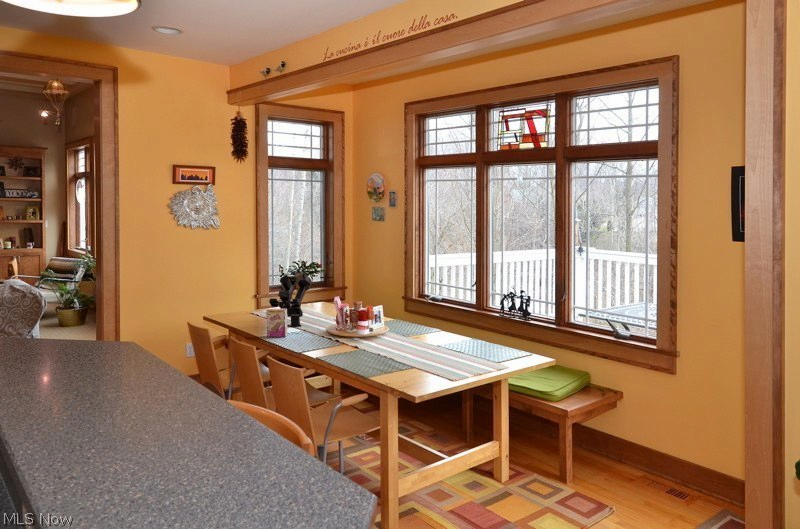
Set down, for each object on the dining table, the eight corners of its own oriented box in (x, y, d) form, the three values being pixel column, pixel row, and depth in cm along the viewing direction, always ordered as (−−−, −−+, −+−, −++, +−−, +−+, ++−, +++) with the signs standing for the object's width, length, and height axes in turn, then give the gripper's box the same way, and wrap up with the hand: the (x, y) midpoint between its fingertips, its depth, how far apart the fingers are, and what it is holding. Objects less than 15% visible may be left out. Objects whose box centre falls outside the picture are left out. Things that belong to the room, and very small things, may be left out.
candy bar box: (267, 337, 377) (265, 309, 375) (269, 335, 382) (268, 308, 380) (285, 337, 376) (284, 309, 374) (288, 335, 381) (286, 308, 379)
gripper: (269, 285, 390) (263, 306, 381) (298, 285, 387) (292, 306, 377) (275, 296, 399) (268, 316, 389) (303, 296, 395) (298, 317, 386)
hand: (281, 314), depth 385 cm, fingers closed
